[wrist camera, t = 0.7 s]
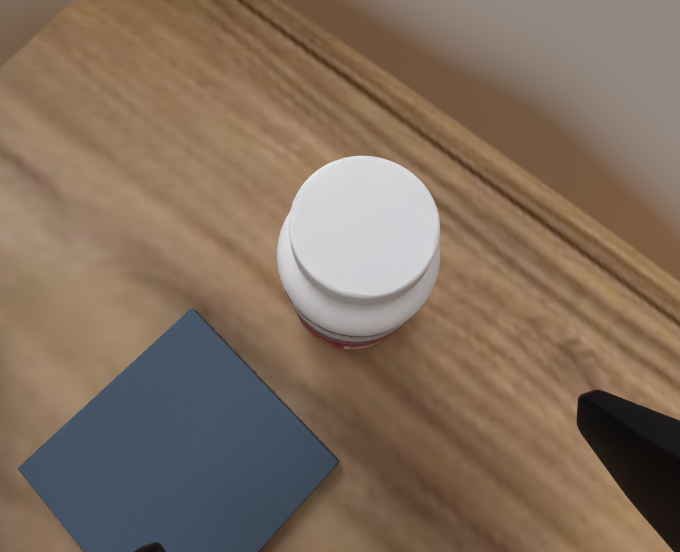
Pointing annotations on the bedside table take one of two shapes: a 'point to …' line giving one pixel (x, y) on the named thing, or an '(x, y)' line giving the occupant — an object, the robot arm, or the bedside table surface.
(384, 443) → the bedside table surface
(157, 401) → the mat
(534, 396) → the bedside table surface
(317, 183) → the pill bottle
